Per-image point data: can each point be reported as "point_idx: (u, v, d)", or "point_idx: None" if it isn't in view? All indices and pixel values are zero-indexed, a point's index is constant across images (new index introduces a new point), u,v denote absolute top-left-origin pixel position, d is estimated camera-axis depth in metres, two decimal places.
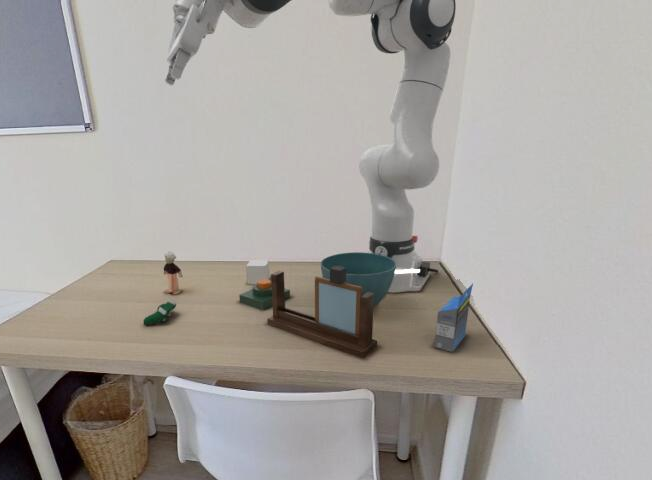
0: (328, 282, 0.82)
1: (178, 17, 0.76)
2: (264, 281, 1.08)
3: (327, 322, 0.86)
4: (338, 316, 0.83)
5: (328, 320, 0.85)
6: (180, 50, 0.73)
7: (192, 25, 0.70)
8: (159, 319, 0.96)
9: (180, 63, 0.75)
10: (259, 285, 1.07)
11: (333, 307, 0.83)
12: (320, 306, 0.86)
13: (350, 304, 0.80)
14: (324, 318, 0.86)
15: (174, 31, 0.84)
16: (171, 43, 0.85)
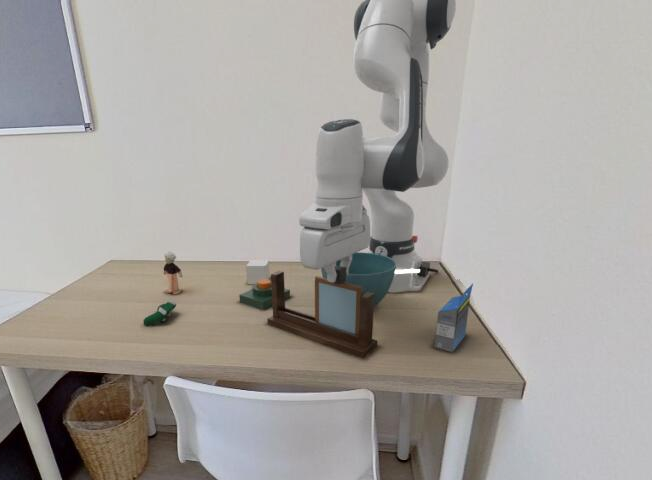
0: (328, 282, 0.82)
1: (354, 227, 0.76)
2: (264, 281, 1.08)
3: (327, 322, 0.86)
4: (338, 316, 0.83)
5: (328, 320, 0.85)
6: None
7: None
8: (159, 319, 0.96)
9: None
10: (259, 285, 1.07)
11: (333, 307, 0.83)
12: (320, 306, 0.86)
13: (350, 304, 0.80)
14: (324, 318, 0.86)
15: (325, 237, 0.70)
16: (321, 250, 0.71)
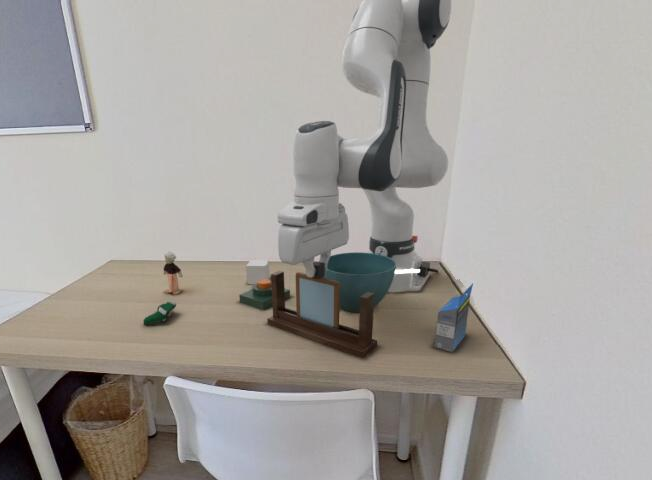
0: (308, 277, 0.86)
1: (331, 224, 0.79)
2: (264, 281, 1.08)
3: (308, 316, 0.89)
4: (318, 310, 0.87)
5: (308, 314, 0.89)
6: None
7: None
8: (159, 319, 0.96)
9: None
10: (259, 285, 1.07)
11: (313, 301, 0.87)
12: (301, 300, 0.89)
13: (328, 298, 0.84)
14: (305, 312, 0.89)
15: (302, 234, 0.74)
16: (298, 246, 0.74)
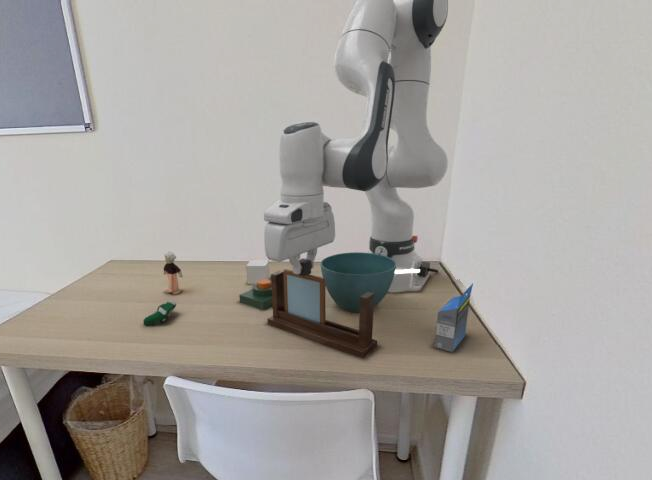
0: (295, 274, 0.88)
1: (317, 222, 0.82)
2: (264, 281, 1.08)
3: (295, 312, 0.91)
4: (305, 306, 0.89)
5: (296, 310, 0.91)
6: None
7: None
8: (159, 319, 0.96)
9: None
10: (259, 285, 1.07)
11: (300, 298, 0.89)
12: (289, 297, 0.91)
13: (315, 295, 0.86)
14: (292, 308, 0.92)
15: (287, 231, 0.76)
16: (284, 243, 0.76)
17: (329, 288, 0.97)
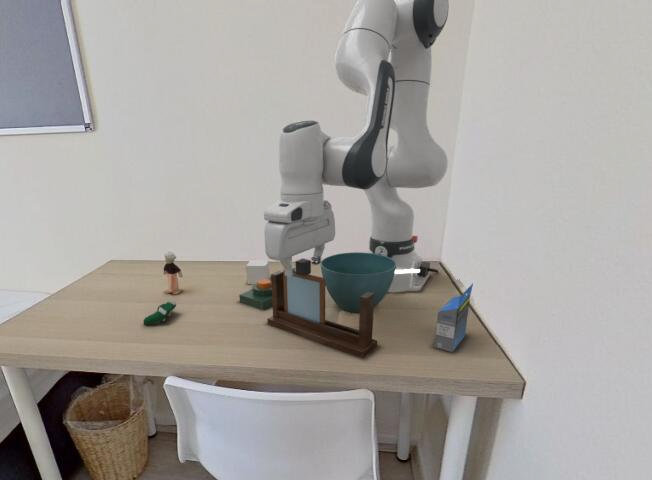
0: (295, 274, 0.88)
1: (317, 221, 0.82)
2: (264, 281, 1.08)
3: (295, 312, 0.92)
4: (304, 306, 0.89)
5: (296, 310, 0.91)
6: None
7: None
8: (159, 319, 0.96)
9: None
10: (259, 285, 1.07)
11: (300, 298, 0.89)
12: (288, 297, 0.91)
13: (314, 295, 0.86)
14: (292, 308, 0.92)
15: (287, 230, 0.76)
16: (284, 242, 0.76)
17: (329, 288, 0.97)
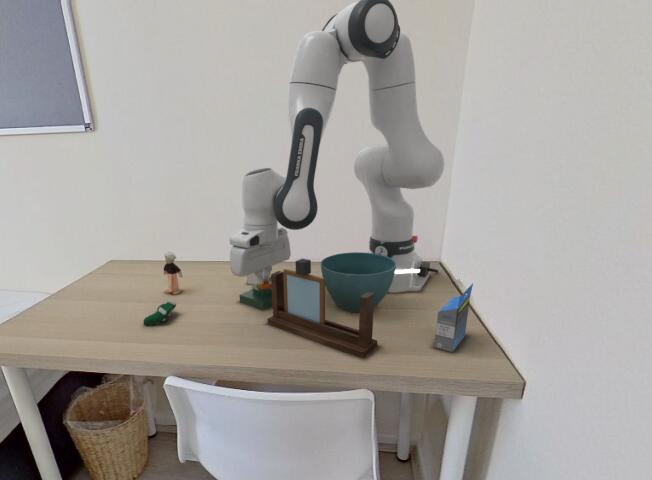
0: (295, 274, 0.88)
1: (273, 245, 1.03)
2: None
3: (295, 312, 0.92)
4: (304, 306, 0.89)
5: (296, 310, 0.91)
6: None
7: None
8: (159, 319, 0.96)
9: None
10: (259, 286, 1.07)
11: (300, 298, 0.89)
12: (288, 297, 0.91)
13: (314, 295, 0.86)
14: (292, 308, 0.92)
15: (247, 253, 0.97)
16: (244, 262, 0.98)
17: (329, 288, 0.97)
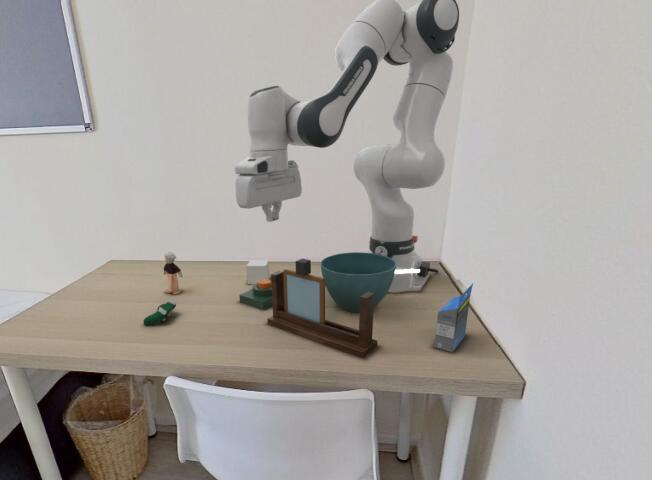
0: (295, 274, 0.88)
1: (282, 176, 0.94)
2: (264, 281, 1.08)
3: (295, 312, 0.92)
4: (304, 306, 0.89)
5: (296, 310, 0.91)
6: None
7: None
8: (159, 319, 0.96)
9: None
10: (259, 285, 1.07)
11: (300, 298, 0.89)
12: (288, 297, 0.91)
13: (314, 295, 0.86)
14: (292, 308, 0.92)
15: (254, 181, 0.88)
16: (252, 192, 0.88)
17: (329, 288, 0.97)
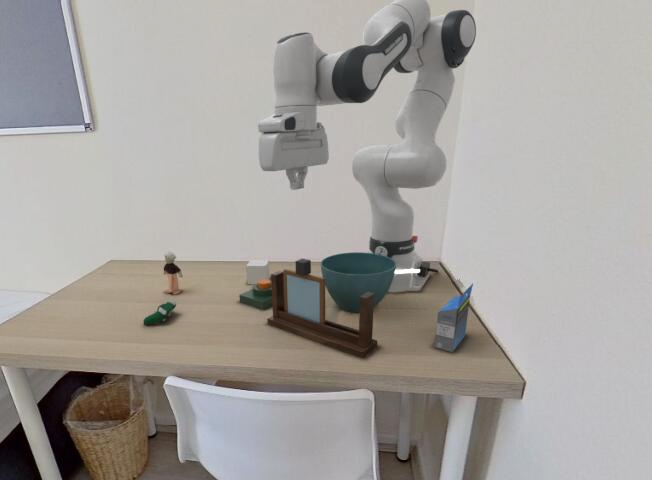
0: (295, 274, 0.88)
1: (310, 137, 0.84)
2: (264, 281, 1.08)
3: (295, 312, 0.92)
4: (304, 306, 0.89)
5: (296, 310, 0.91)
6: None
7: None
8: (159, 319, 0.96)
9: None
10: (259, 285, 1.07)
11: (300, 298, 0.89)
12: (288, 297, 0.91)
13: (314, 295, 0.86)
14: (292, 308, 0.92)
15: (280, 139, 0.78)
16: (277, 152, 0.78)
17: (329, 288, 0.97)
